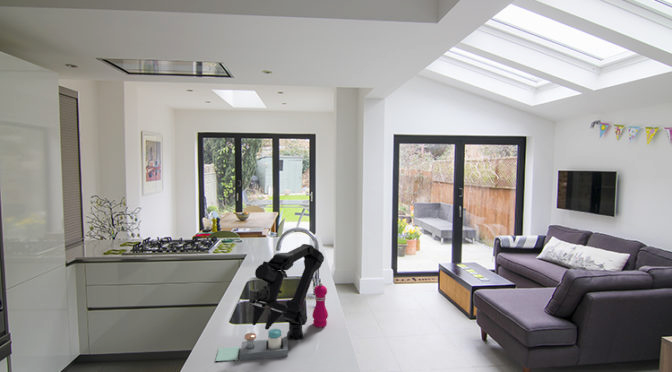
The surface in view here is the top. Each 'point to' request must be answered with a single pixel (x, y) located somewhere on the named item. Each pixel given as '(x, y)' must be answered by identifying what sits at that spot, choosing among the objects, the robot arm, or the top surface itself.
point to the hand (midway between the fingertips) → (259, 327)
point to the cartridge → (274, 339)
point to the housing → (262, 350)
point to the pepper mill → (320, 306)
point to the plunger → (250, 340)
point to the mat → (227, 354)
